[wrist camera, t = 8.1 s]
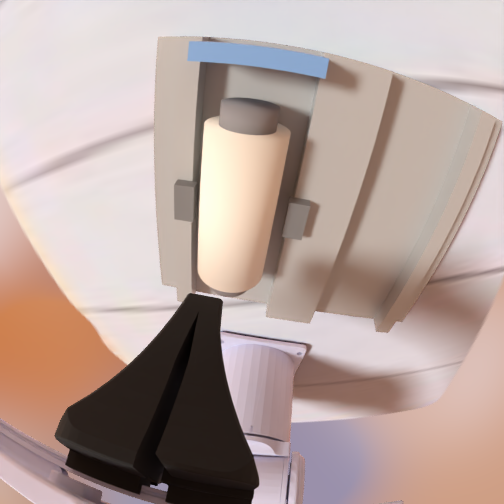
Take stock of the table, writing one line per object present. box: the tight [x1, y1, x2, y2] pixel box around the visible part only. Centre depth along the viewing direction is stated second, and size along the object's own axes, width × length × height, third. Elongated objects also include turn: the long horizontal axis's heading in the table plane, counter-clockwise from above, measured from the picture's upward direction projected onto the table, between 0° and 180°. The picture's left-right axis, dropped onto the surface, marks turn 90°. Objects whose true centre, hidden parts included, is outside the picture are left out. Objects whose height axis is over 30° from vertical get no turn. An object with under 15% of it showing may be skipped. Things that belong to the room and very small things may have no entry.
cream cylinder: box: [198, 97, 291, 297], centre depth 15 cm, size 10×4×4 cm, turn 173°
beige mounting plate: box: [154, 36, 502, 333], centre depth 16 cm, size 16×18×4 cm
